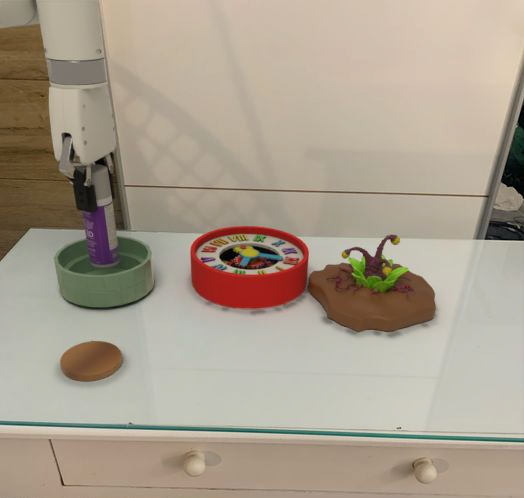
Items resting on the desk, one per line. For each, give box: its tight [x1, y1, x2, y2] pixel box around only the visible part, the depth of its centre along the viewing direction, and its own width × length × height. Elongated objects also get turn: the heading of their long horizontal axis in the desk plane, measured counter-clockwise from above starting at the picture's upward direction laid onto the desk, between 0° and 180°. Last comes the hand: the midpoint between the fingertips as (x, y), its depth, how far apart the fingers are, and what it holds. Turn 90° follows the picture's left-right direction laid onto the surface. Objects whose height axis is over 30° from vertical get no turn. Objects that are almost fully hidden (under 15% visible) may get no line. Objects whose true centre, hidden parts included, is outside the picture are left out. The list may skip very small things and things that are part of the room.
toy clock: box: [189, 225, 310, 310], centre depth 95 cm, size 20×6×20 cm
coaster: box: [59, 340, 123, 382], centre depth 75 cm, size 8×8×1 cm
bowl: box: [53, 235, 155, 308], centre depth 91 cm, size 15×15×6 cm
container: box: [77, 163, 120, 268], centre depth 86 cm, size 5×5×15 cm
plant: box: [307, 234, 437, 332], centre depth 90 cm, size 20×20×11 cm
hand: (96, 203), depth 85 cm, fingers closed on container, 4 cm apart
